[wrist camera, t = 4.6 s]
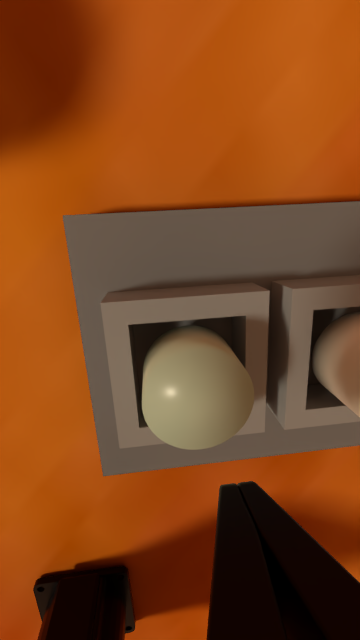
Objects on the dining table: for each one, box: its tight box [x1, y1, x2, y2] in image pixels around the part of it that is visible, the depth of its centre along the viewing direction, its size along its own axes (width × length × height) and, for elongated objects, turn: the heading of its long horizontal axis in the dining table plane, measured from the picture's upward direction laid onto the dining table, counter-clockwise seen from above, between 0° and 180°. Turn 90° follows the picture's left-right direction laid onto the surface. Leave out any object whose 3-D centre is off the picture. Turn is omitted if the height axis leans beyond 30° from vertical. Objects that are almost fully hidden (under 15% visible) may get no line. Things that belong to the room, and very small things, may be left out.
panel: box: [63, 201, 360, 476], centre depth 16 cm, size 14×26×4 cm, turn 93°
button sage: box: [142, 325, 254, 450], centre depth 12 cm, size 4×4×3 cm
